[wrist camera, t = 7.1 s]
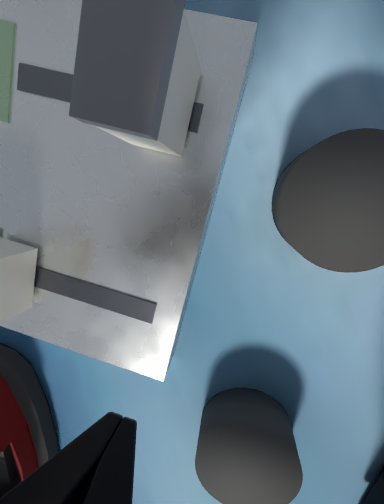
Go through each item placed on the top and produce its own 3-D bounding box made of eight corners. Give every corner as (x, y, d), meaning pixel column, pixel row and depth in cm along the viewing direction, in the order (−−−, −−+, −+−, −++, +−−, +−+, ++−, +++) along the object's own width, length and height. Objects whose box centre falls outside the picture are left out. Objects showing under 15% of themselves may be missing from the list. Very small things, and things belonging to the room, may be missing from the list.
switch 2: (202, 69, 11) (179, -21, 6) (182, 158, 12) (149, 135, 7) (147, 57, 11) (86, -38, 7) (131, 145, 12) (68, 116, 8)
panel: (253, 54, 13) (257, 21, 11) (173, 355, 18) (162, 382, 15) (6, 4, 14) (-42, -36, 12) (-11, 295, 19) (-48, 310, 16)
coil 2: (413, 158, 13) (464, 147, 10) (364, 269, 14) (396, 288, 12) (292, 130, 14) (308, 113, 11) (257, 240, 15) (263, 251, 12)
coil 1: (304, 406, 17) (318, 450, 14) (274, 474, 18) (282, 527, 15) (214, 376, 17) (210, 412, 14) (192, 444, 19) (184, 489, 16)
